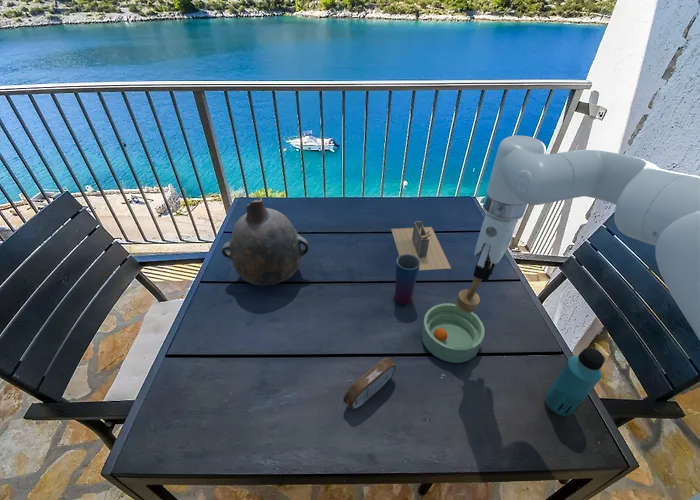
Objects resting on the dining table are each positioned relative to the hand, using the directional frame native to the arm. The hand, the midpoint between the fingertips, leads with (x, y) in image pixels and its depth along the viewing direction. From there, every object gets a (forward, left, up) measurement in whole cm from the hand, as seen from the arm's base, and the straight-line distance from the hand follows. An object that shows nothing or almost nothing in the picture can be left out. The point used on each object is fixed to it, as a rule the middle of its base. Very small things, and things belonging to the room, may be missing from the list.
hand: (482, 275), depth 78 cm
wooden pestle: (+2, 0, -11) cm, 11 cm away
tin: (+12, +25, -27) cm, 39 cm away
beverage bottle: (-25, +2, -27) cm, 37 cm away
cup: (+21, -7, -27) cm, 35 cm away
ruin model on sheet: (+29, -33, -27) cm, 51 cm away
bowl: (+3, -1, -27) cm, 27 cm away
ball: (+5, +1, -24) cm, 25 cm away
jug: (+62, +10, -27) cm, 68 cm away
